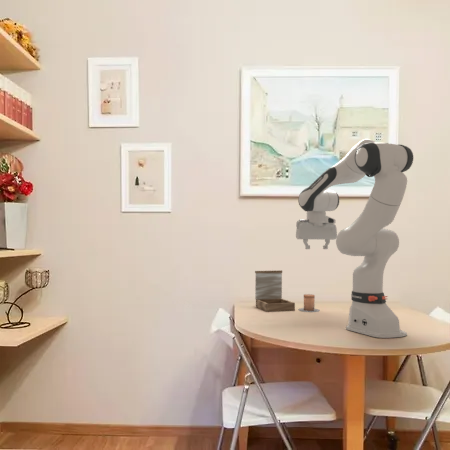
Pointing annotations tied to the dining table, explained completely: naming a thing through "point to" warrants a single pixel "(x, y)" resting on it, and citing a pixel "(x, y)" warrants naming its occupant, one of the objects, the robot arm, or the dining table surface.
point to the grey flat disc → (308, 311)
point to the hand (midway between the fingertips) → (316, 249)
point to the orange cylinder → (309, 302)
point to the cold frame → (271, 292)
